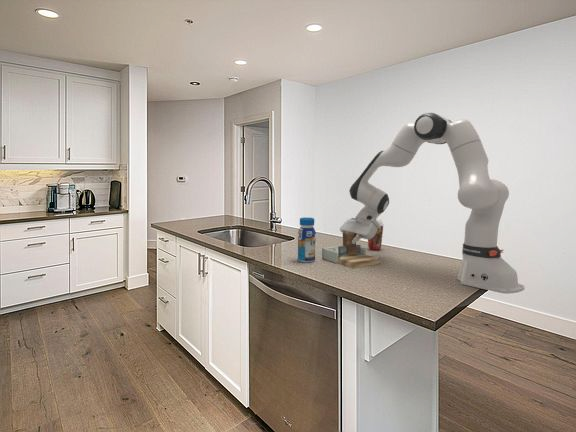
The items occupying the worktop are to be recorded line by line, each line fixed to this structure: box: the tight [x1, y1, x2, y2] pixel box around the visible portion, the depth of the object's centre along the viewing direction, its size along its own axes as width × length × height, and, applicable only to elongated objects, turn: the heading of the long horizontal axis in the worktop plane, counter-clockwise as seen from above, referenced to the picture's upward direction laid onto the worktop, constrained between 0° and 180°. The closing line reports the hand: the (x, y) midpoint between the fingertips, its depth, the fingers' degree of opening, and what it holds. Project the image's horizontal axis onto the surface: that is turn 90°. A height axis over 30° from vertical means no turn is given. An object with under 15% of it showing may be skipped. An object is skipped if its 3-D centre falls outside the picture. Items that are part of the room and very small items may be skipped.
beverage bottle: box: [297, 217, 317, 263], centre depth 170 cm, size 8×8×20 cm
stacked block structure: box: [338, 233, 362, 255], centre depth 171 cm, size 4×12×10 cm, turn 121°
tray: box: [321, 246, 367, 264], centre depth 175 cm, size 11×18×5 cm, turn 121°
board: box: [337, 253, 381, 269], centre depth 167 cm, size 10×16×2 cm, turn 121°
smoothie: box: [367, 217, 384, 252], centre depth 196 cm, size 8×8×20 cm
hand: (348, 242), depth 171 cm, fingers closed on stacked block structure, 4 cm apart
